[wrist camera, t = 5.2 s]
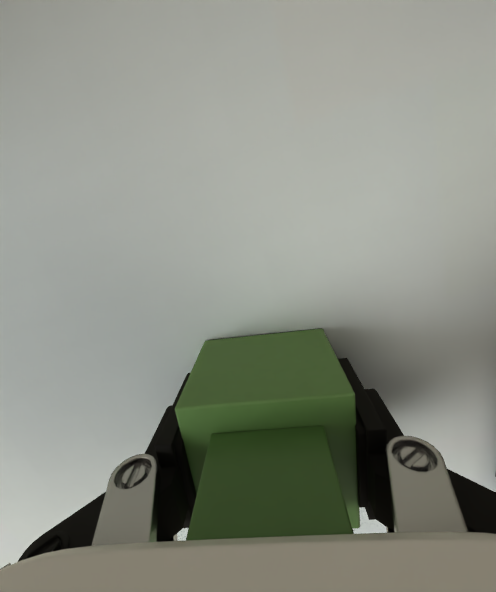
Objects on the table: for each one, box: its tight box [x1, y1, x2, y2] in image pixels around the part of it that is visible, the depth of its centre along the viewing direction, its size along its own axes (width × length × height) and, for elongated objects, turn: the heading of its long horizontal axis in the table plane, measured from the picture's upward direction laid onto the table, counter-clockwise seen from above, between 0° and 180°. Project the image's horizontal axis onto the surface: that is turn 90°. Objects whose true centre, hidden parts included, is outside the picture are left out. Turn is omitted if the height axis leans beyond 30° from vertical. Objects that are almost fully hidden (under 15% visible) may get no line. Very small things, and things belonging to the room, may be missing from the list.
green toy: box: [175, 329, 360, 541], centre depth 9 cm, size 5×5×7 cm
